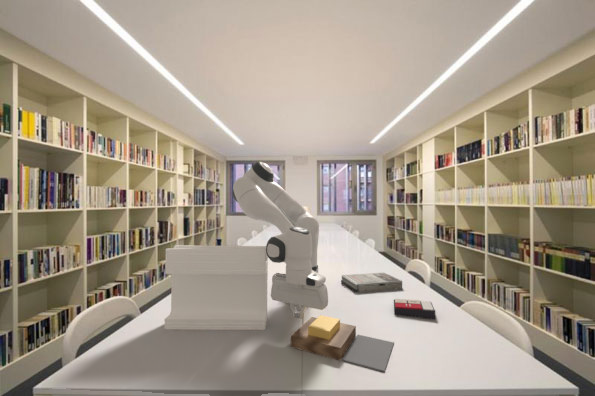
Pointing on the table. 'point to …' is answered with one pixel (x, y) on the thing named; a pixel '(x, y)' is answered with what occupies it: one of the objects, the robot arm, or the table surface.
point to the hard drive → (371, 282)
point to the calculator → (414, 308)
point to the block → (217, 287)
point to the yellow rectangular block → (324, 327)
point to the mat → (369, 352)
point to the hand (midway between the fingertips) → (298, 317)
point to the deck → (324, 340)
